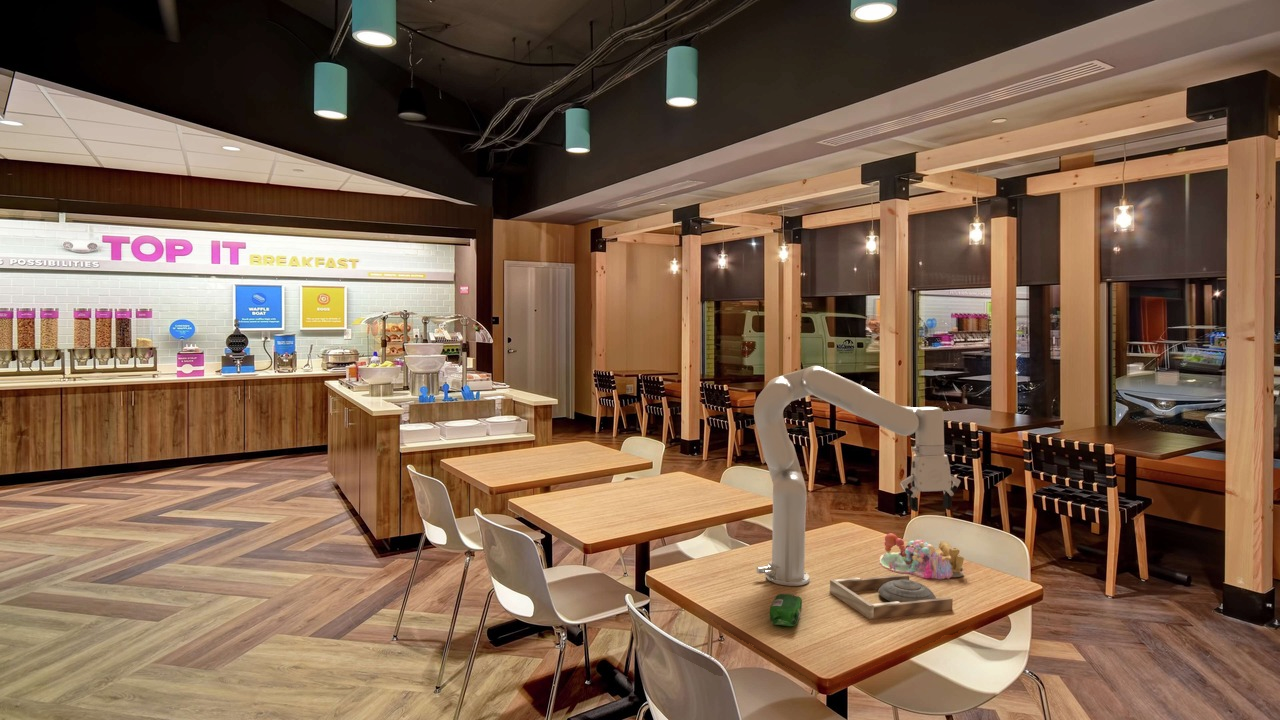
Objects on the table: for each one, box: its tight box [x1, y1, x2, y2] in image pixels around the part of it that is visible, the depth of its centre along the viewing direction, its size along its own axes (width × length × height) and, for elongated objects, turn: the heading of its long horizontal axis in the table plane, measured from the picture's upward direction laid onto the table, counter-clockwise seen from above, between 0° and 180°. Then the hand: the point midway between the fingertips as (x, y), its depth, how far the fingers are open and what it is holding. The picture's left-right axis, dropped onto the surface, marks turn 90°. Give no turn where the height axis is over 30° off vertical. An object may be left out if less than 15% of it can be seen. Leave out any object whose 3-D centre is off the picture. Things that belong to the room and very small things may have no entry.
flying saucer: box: [877, 579, 937, 602], centre depth 194 cm, size 15×15×6 cm
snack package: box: [769, 593, 803, 627], centre depth 179 cm, size 7×16×5 cm, turn 160°
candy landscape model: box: [878, 532, 965, 581], centre depth 220 cm, size 25×24×9 cm
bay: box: [829, 573, 954, 620], centre depth 192 cm, size 25×19×4 cm
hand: (930, 509), depth 200 cm, fingers open, 9 cm apart
